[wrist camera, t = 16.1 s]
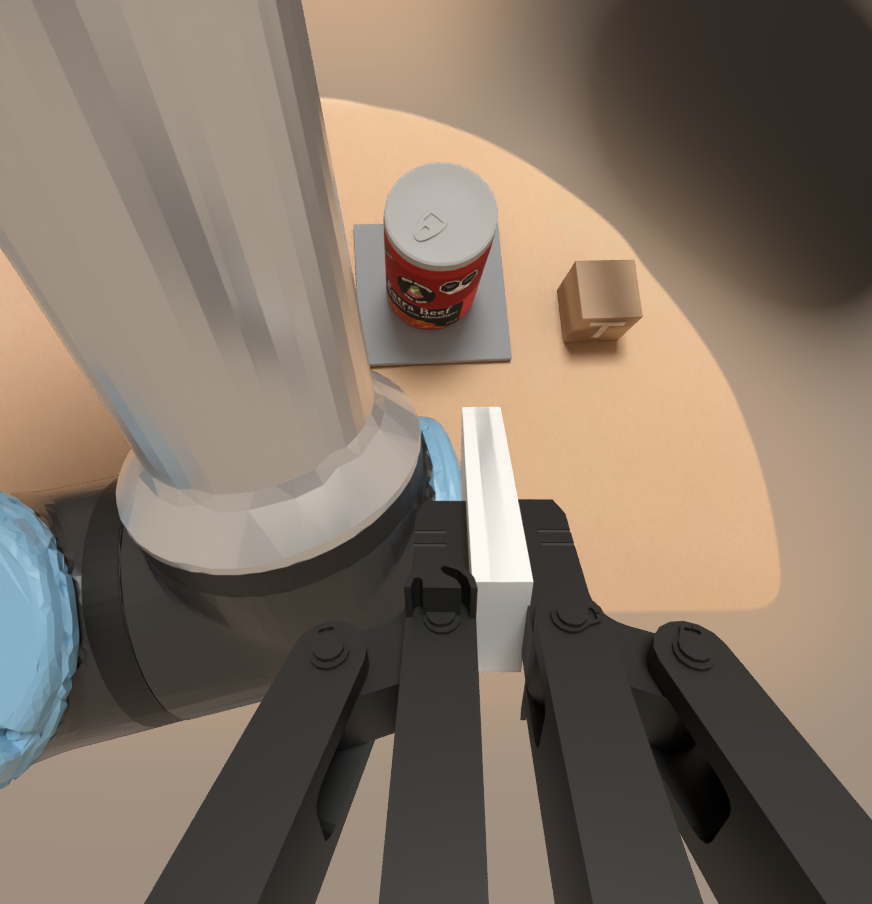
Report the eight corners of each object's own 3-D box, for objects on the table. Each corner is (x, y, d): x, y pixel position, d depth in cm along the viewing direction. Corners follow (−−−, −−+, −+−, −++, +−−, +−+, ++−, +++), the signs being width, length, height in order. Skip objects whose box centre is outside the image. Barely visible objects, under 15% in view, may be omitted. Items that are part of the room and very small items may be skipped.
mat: (361, 366, 44) (360, 364, 44) (354, 228, 47) (353, 224, 46) (510, 360, 46) (511, 358, 45) (496, 225, 48) (497, 221, 47)
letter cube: (562, 343, 46) (582, 319, 42) (556, 290, 47) (575, 261, 42) (616, 341, 47) (642, 317, 42) (609, 289, 48) (634, 259, 43)
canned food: (371, 310, 45) (363, 236, 34) (410, 235, 46) (415, 141, 36) (451, 348, 45) (469, 286, 34) (488, 272, 46) (516, 189, 35)
